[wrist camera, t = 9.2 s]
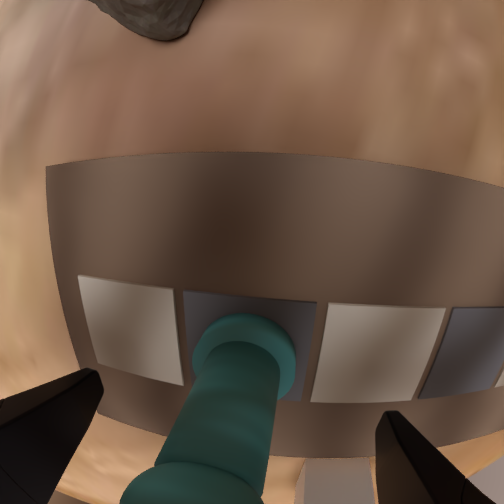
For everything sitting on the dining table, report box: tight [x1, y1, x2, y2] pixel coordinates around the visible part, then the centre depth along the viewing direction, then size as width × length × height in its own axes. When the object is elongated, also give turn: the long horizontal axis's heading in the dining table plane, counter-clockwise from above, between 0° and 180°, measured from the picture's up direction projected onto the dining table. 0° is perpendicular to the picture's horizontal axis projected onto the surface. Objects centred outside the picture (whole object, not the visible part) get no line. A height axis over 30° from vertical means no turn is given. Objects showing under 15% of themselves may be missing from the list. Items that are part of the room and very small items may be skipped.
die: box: [294, 458, 375, 504], centre depth 12 cm, size 4×4×4 cm
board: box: [46, 152, 504, 458], centre depth 10 cm, size 28×14×1 cm, turn 88°
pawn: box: [119, 313, 296, 504], centre depth 6 cm, size 4×4×8 cm
